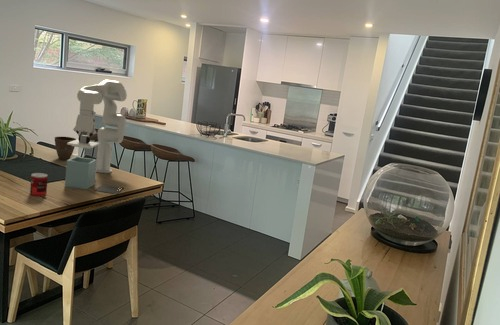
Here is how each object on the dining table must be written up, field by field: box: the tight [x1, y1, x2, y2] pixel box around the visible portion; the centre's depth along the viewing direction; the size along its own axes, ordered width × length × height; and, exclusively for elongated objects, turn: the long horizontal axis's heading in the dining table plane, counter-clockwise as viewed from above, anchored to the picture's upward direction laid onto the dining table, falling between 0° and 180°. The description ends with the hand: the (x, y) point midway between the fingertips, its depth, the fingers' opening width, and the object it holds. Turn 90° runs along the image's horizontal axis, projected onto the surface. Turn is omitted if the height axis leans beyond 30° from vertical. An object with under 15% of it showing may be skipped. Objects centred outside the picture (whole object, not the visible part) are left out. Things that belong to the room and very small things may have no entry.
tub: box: [64, 156, 97, 190], centre depth 235 cm, size 13×13×16 cm
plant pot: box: [54, 136, 77, 161], centre depth 290 cm, size 15×15×16 cm
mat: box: [93, 183, 123, 195], centre depth 238 cm, size 14×14×1 cm
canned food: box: [29, 172, 49, 197], centre depth 208 cm, size 8×8×11 cm
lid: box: [67, 134, 100, 150], centre depth 232 cm, size 14×14×6 cm
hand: (84, 142), depth 232 cm, fingers closed on lid, 3 cm apart
